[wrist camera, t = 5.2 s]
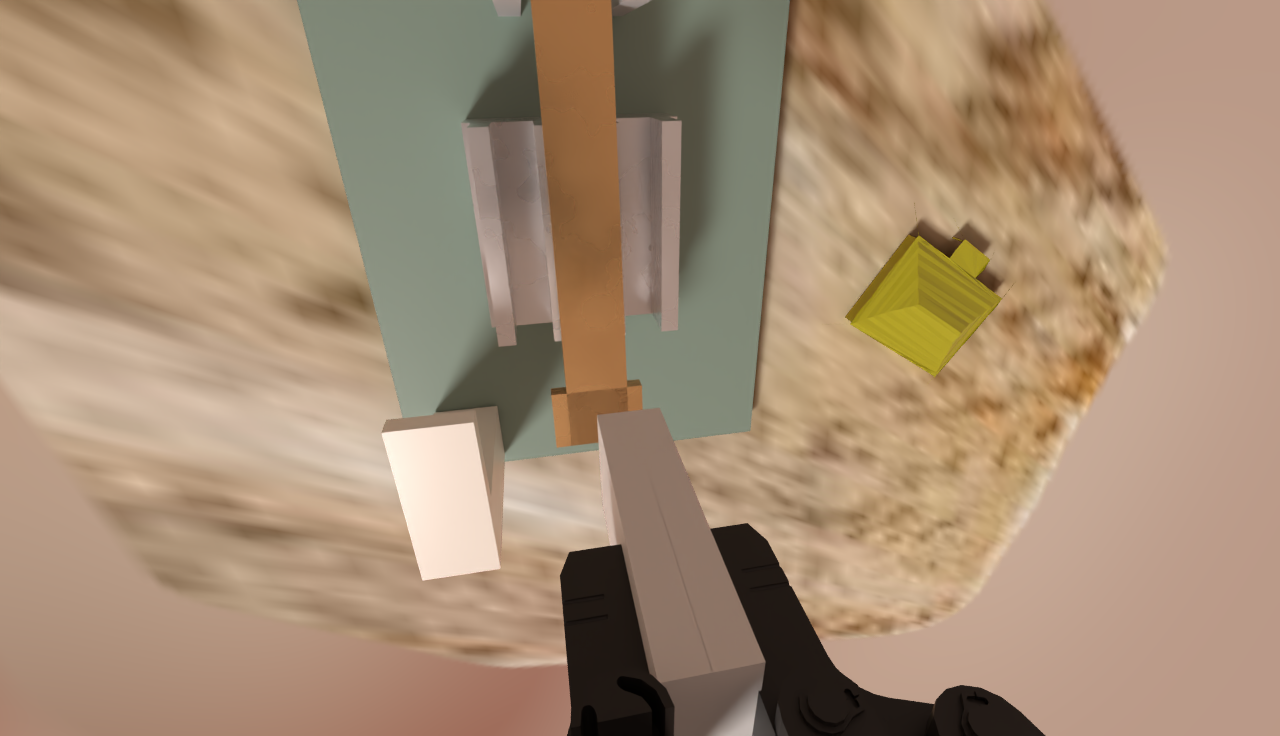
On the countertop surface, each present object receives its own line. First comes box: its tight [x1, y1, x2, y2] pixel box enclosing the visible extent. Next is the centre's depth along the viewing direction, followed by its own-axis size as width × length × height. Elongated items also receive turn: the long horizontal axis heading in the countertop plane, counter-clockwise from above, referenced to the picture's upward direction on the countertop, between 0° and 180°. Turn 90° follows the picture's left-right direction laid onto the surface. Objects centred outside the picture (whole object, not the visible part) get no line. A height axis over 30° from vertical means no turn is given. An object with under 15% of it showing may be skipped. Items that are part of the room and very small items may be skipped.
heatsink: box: [461, 113, 682, 347], centre depth 23 cm, size 8×8×4 cm
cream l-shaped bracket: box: [382, 406, 505, 580], centre depth 24 cm, size 7×3×8 cm, turn 1°
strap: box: [530, 0, 643, 448], centre depth 20 cm, size 16×4×1 cm, turn 1°
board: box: [297, 0, 790, 462], centre depth 23 cm, size 25×18×7 cm
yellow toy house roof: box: [845, 205, 1013, 377], centre depth 31 cm, size 10×9×3 cm
